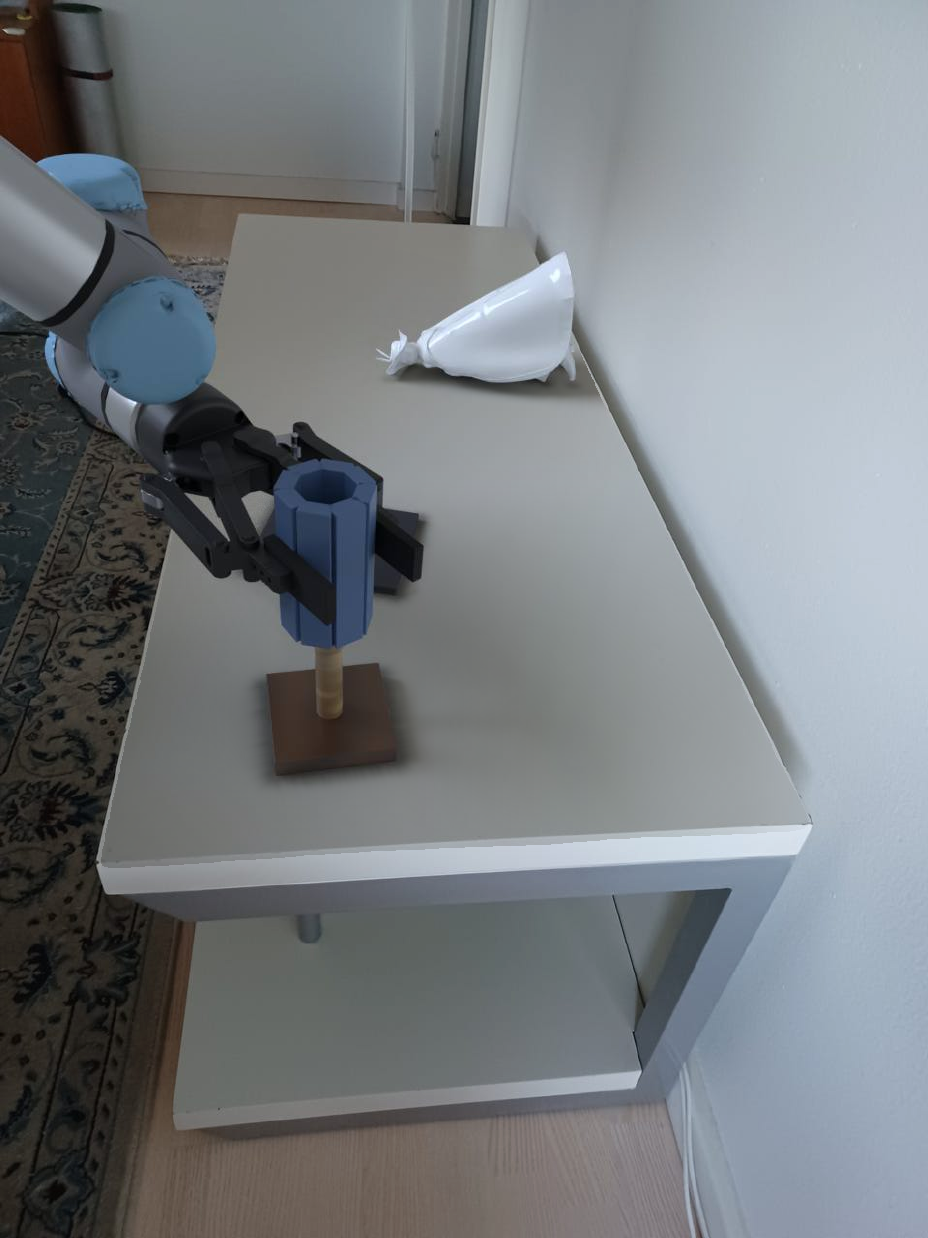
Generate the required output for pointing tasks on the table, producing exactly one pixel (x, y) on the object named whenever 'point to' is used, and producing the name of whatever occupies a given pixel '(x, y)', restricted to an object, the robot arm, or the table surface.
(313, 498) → the sleeve
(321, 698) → the dowel stand
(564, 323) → the knotted white bag
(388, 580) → the mat
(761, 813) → the table surface
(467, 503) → the table surface
